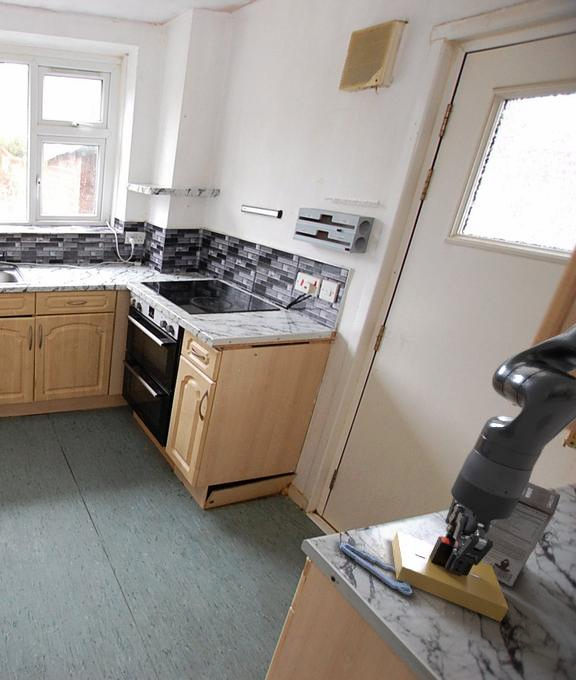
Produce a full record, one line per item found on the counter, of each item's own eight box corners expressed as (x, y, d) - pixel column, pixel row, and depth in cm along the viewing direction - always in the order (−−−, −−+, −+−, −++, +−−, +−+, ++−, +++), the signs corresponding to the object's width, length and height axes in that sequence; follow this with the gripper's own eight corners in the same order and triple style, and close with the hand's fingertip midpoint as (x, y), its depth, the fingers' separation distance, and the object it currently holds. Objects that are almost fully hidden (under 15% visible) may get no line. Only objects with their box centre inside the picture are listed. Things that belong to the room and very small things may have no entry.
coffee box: (477, 542, 89) (512, 474, 84) (521, 564, 85) (561, 493, 79) (466, 564, 84) (503, 493, 78) (513, 589, 79) (555, 515, 73)
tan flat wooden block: (485, 578, 81) (492, 565, 80) (500, 622, 72) (509, 607, 71) (391, 543, 87) (397, 530, 86) (396, 579, 79) (402, 565, 78)
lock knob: (465, 569, 78) (476, 547, 77) (467, 576, 77) (478, 554, 75) (429, 555, 81) (439, 534, 79) (431, 562, 79) (441, 541, 77)
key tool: (348, 541, 87) (335, 548, 85) (350, 537, 87) (336, 544, 84) (418, 590, 78) (405, 599, 75) (420, 586, 78) (407, 595, 75)
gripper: (537, 516, 65) (488, 604, 71) (508, 467, 77) (467, 546, 83) (471, 495, 68) (429, 580, 74) (452, 451, 80) (417, 528, 86)
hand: (449, 562), depth 78 cm, fingers open, 4 cm apart
